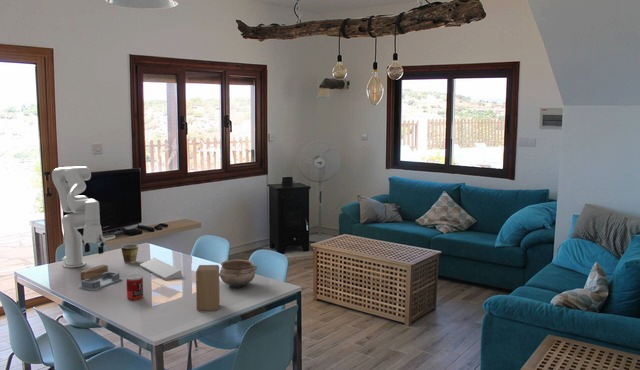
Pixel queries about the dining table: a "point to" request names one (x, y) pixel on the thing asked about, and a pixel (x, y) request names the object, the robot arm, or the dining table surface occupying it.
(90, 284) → the board
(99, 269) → the slat
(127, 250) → the ceramic cup
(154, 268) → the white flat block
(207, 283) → the wooden block
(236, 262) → the cooking pot
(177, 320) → the dining table surface
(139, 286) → the canned food
